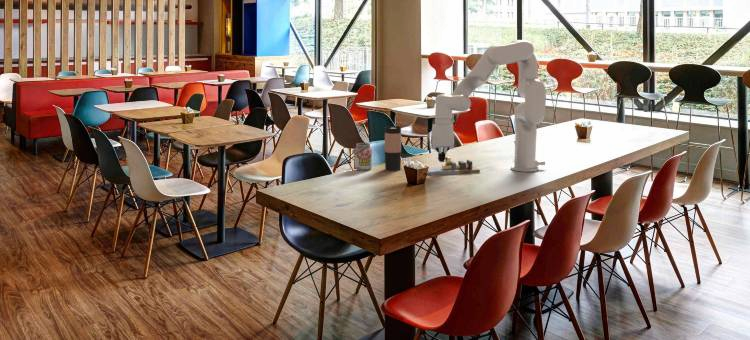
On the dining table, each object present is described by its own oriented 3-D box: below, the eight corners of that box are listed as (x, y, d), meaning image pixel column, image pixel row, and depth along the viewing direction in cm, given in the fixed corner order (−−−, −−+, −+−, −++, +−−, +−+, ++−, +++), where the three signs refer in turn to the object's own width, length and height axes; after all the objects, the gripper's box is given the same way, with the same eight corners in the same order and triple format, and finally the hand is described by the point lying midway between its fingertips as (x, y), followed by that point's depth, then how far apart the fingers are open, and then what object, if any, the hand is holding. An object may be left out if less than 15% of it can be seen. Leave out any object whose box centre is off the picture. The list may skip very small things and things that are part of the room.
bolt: (443, 169, 312) (443, 158, 311) (441, 168, 314) (442, 157, 313) (468, 168, 314) (468, 156, 313) (466, 167, 316) (466, 156, 315)
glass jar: (354, 171, 317) (353, 146, 315) (351, 167, 325) (350, 143, 323) (373, 170, 319) (373, 145, 316) (370, 167, 327) (369, 142, 324)
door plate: (429, 175, 308) (429, 165, 307) (423, 171, 316) (424, 161, 315) (458, 173, 310) (459, 163, 309) (452, 170, 319) (452, 160, 318)
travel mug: (381, 169, 322) (381, 127, 318) (394, 167, 326) (394, 125, 322) (391, 171, 316) (391, 129, 312) (404, 169, 320) (404, 127, 316)
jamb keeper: (458, 173, 310) (459, 163, 309) (452, 170, 319) (452, 159, 318) (479, 172, 312) (480, 162, 311) (473, 169, 321) (473, 158, 320)
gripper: (456, 120, 314) (454, 159, 317) (425, 120, 311) (423, 160, 314) (461, 122, 306) (459, 162, 310) (429, 122, 303) (428, 163, 307)
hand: (441, 161), depth 312 cm, fingers closed
